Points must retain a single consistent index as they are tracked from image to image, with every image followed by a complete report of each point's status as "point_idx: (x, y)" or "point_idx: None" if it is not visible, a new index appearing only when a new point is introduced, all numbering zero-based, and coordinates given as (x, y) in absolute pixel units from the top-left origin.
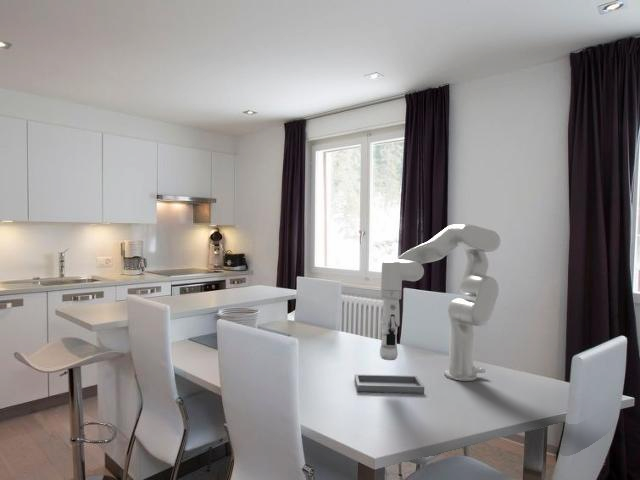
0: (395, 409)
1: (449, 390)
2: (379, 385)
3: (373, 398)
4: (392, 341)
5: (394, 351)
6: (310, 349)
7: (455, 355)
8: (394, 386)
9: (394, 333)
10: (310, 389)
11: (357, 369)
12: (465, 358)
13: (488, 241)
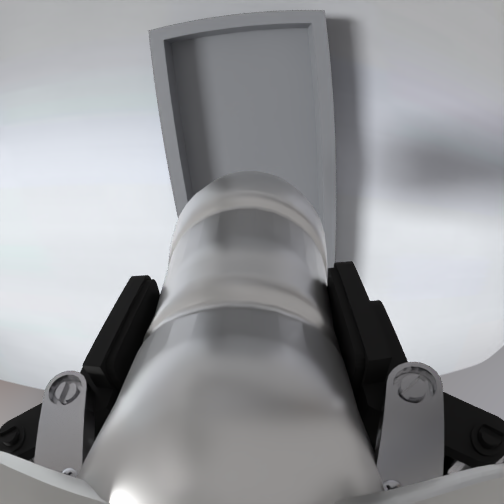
0: (470, 174)
1: None
2: (331, 224)
3: (384, 237)
4: (383, 318)
5: (315, 224)
6: (6, 372)
7: None
8: (335, 156)
9: (434, 387)
10: None
11: (74, 281)
12: None
13: None
